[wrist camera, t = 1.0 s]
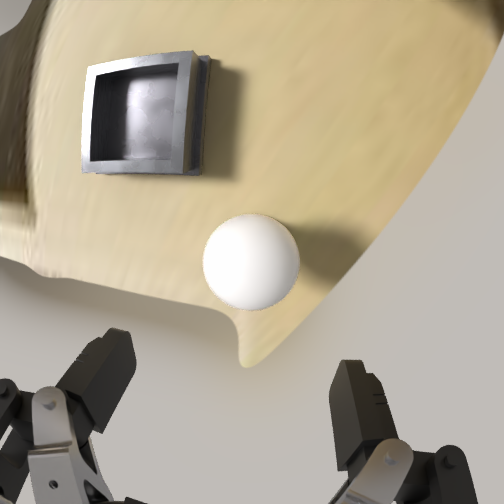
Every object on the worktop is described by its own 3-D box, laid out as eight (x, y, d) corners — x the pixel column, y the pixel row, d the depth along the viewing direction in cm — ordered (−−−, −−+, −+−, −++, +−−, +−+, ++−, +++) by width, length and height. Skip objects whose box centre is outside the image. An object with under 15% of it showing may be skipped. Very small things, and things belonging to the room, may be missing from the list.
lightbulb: (285, 265, 27) (288, 338, 17) (220, 252, 27) (188, 318, 17) (300, 201, 25) (316, 243, 14) (229, 187, 25) (196, 220, 14)
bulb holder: (107, 70, 21) (85, 63, 17) (211, 58, 20) (199, 44, 16) (101, 172, 25) (78, 178, 21) (201, 174, 24) (188, 180, 21)
